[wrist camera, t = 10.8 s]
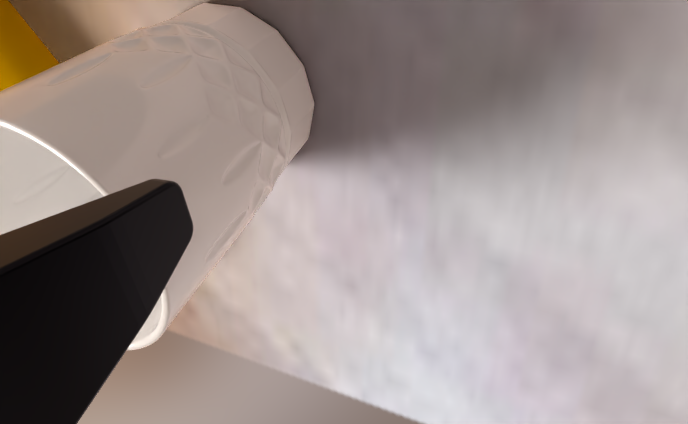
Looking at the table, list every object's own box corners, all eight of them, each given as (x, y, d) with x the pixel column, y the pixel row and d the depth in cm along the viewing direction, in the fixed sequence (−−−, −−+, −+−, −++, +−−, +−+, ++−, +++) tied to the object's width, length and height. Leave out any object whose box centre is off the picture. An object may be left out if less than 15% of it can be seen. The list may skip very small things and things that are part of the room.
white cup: (198, -66, 20) (-64, 45, 13) (371, 96, 21) (214, 282, 14) (127, 82, 26) (-87, 219, 19) (267, 206, 27) (115, 382, 19)
